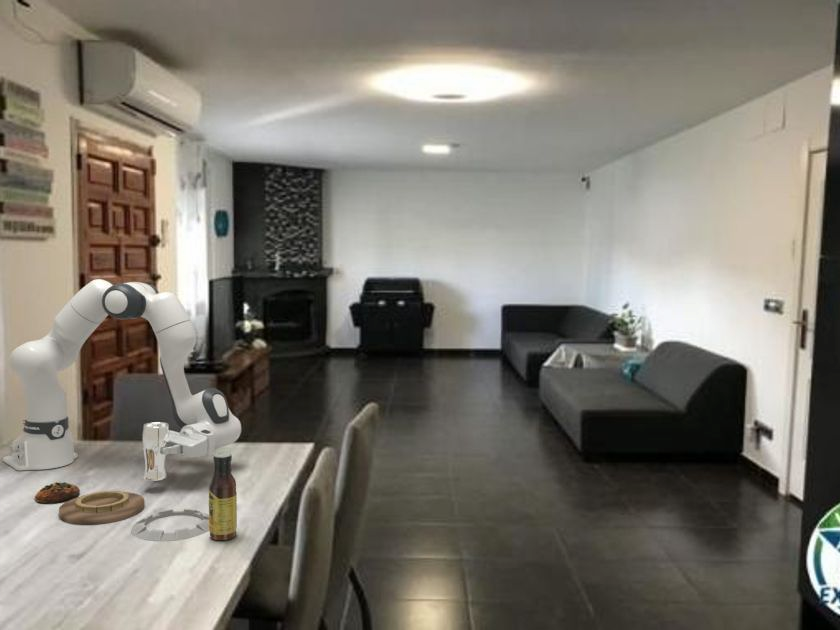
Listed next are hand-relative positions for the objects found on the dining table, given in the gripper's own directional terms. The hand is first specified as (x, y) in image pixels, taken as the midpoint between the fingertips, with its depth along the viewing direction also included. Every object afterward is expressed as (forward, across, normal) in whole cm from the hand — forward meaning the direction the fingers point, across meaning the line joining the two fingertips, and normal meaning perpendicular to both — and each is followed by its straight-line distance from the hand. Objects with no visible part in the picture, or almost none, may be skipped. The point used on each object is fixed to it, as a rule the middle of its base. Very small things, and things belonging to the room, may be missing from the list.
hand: (153, 449), depth 197 cm
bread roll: (+18, -16, +13) cm, 27 cm away
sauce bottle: (+11, +41, +11) cm, 44 cm away
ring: (+13, +26, +12) cm, 31 cm away
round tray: (+17, +3, +12) cm, 21 cm away
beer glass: (-1, 0, +8) cm, 9 cm away
